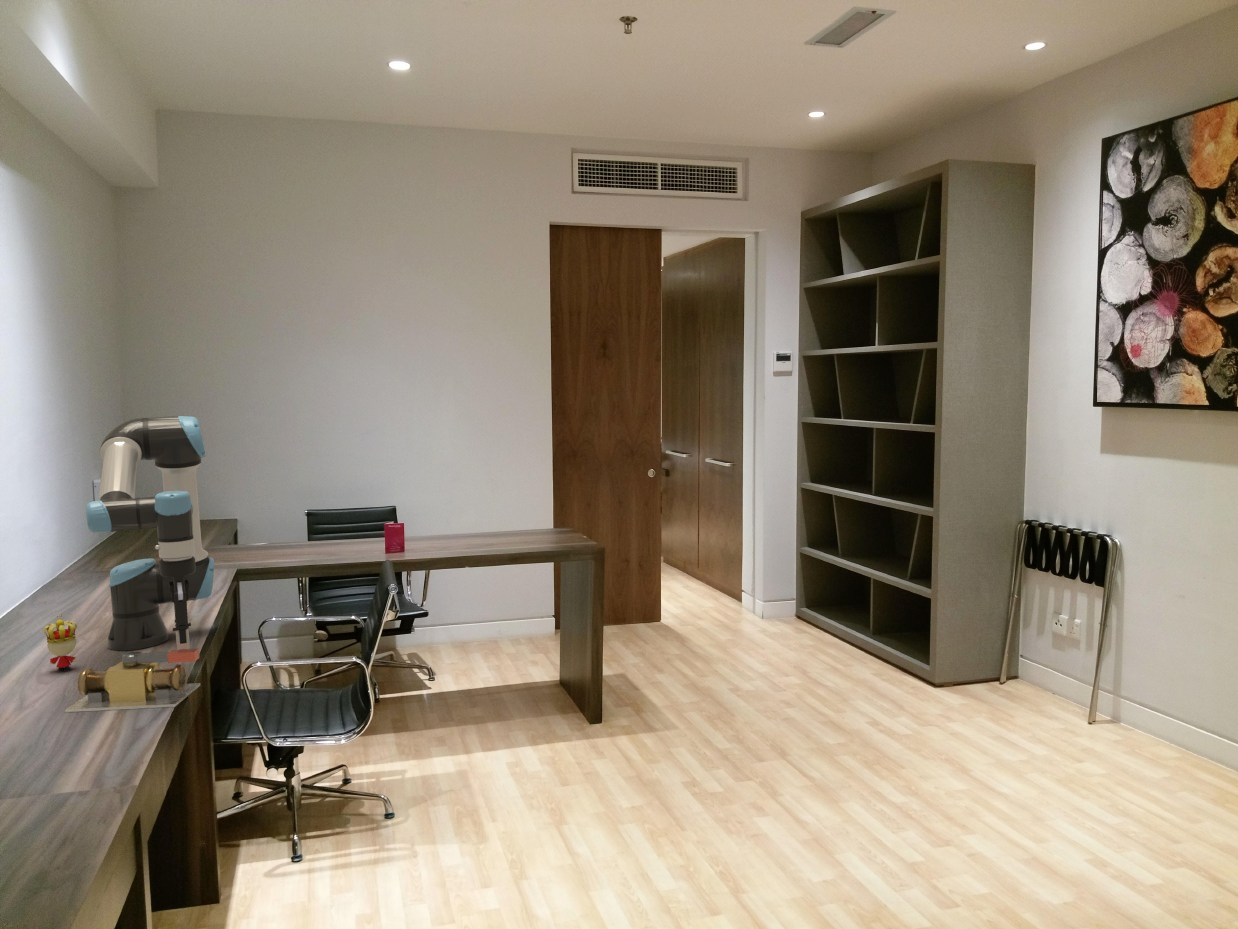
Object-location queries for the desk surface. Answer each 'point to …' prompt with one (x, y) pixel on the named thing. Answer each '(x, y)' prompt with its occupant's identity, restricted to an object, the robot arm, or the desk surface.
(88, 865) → the desk surface
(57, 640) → the toy
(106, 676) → the valve body
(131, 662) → the lever
